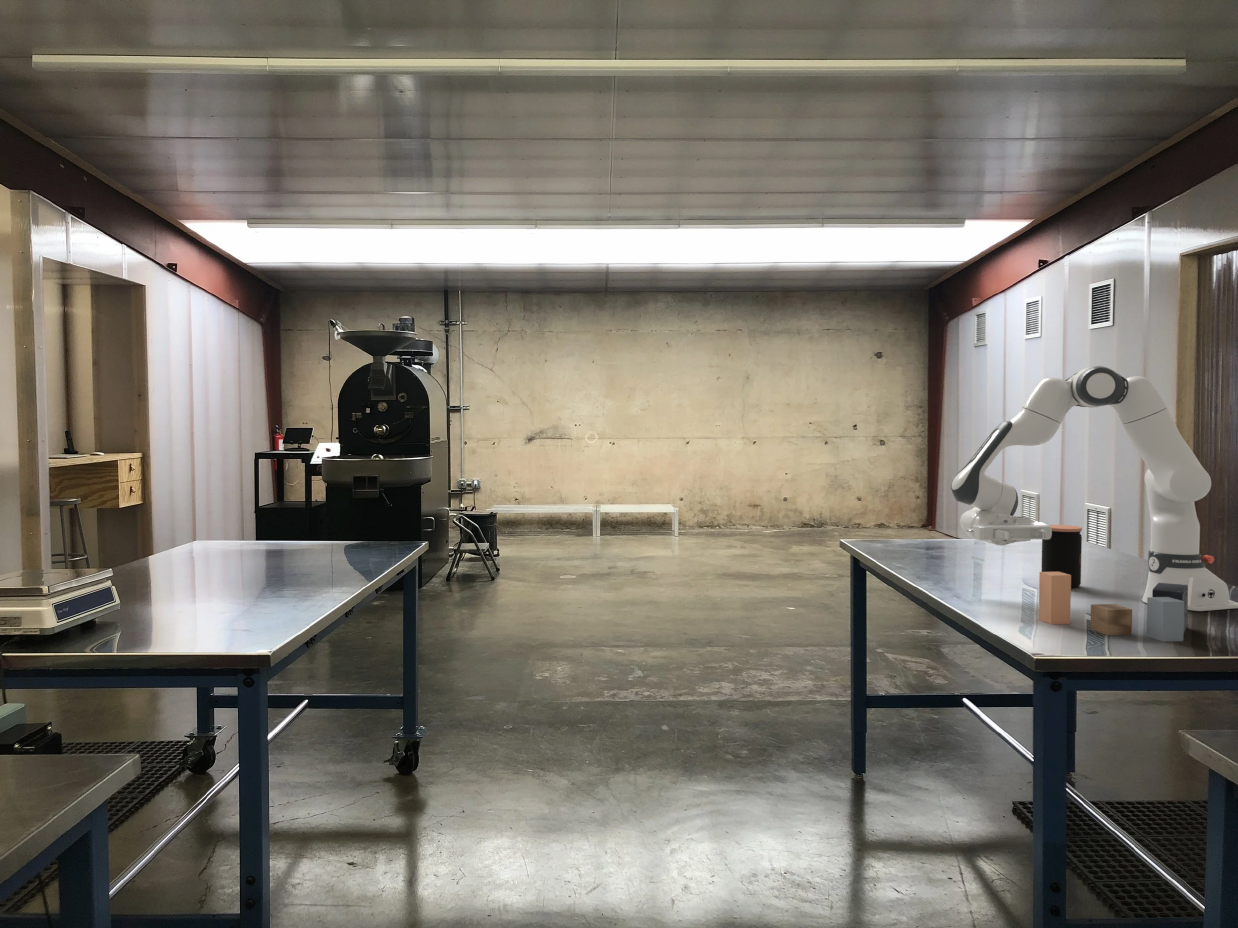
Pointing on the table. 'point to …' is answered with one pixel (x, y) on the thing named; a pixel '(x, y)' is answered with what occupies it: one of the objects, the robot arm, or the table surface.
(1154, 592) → the small box
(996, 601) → the table surface
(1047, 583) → the terracotta block
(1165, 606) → the slate block
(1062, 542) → the coffee jar
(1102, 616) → the walnut block
